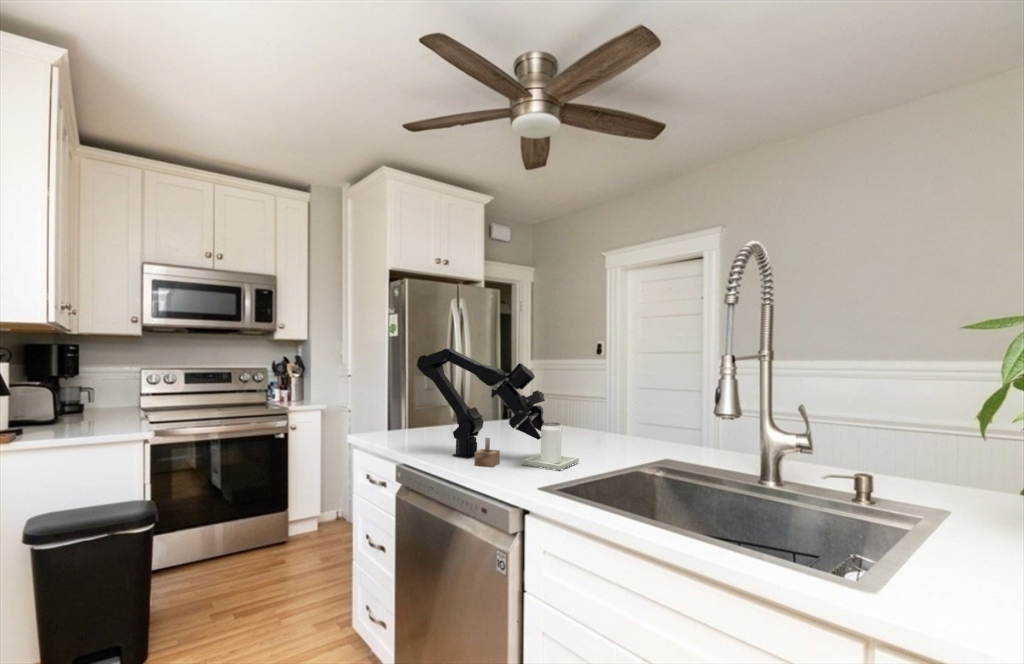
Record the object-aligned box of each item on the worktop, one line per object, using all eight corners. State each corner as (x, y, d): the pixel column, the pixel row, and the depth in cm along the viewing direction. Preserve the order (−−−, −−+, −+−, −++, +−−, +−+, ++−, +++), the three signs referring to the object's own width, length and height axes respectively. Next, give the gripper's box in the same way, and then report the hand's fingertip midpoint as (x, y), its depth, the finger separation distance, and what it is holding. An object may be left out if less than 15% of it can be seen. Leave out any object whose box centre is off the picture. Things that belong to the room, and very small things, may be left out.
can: (548, 458, 158) (549, 421, 158) (565, 462, 153) (565, 423, 154) (536, 462, 153) (536, 423, 153) (553, 465, 149) (553, 425, 149)
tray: (522, 465, 151) (522, 459, 151) (542, 457, 162) (542, 453, 162) (560, 471, 144) (560, 465, 144) (578, 463, 155) (578, 458, 155)
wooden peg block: (474, 465, 150) (475, 438, 150) (481, 461, 155) (482, 435, 156) (492, 467, 148) (493, 440, 148) (499, 463, 153) (499, 437, 154)
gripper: (520, 384, 148) (554, 423, 144) (538, 381, 165) (569, 416, 161) (495, 408, 150) (527, 447, 146) (516, 402, 168) (545, 438, 164)
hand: (544, 436), depth 154 cm, fingers open, 9 cm apart
